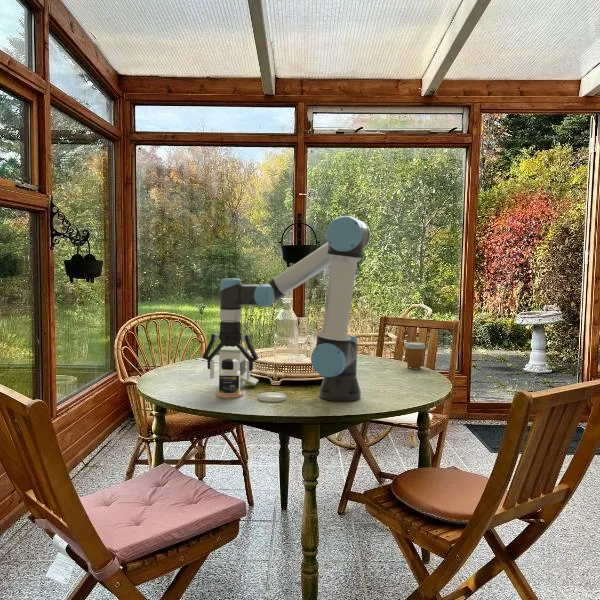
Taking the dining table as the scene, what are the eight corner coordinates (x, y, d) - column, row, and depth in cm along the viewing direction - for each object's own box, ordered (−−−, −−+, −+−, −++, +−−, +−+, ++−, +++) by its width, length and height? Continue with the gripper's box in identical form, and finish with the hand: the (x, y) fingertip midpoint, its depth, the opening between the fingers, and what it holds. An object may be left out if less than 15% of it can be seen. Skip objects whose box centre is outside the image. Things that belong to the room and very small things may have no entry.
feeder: (259, 383, 223) (260, 346, 222) (254, 389, 213) (254, 350, 212) (225, 382, 225) (225, 345, 224) (218, 387, 214) (218, 349, 213)
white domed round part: (287, 396, 203) (287, 392, 203) (283, 402, 193) (283, 399, 193) (260, 394, 204) (260, 391, 204) (255, 401, 195) (255, 398, 194)
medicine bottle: (218, 394, 199) (219, 361, 198) (220, 389, 206) (221, 357, 205) (238, 394, 199) (239, 361, 199) (240, 389, 206) (240, 357, 206)
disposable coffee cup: (420, 366, 270) (421, 341, 269) (427, 370, 260) (428, 344, 259) (401, 366, 268) (402, 341, 268) (407, 370, 259) (408, 344, 258)
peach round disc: (245, 392, 207) (246, 389, 207) (239, 399, 197) (239, 395, 197) (219, 391, 208) (219, 388, 208) (212, 397, 198) (212, 394, 198)
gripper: (266, 320, 203) (265, 378, 205) (200, 319, 206) (200, 375, 208) (262, 322, 196) (261, 382, 197) (193, 321, 199) (193, 379, 200)
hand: (230, 378), depth 202 cm, fingers open, 13 cm apart
